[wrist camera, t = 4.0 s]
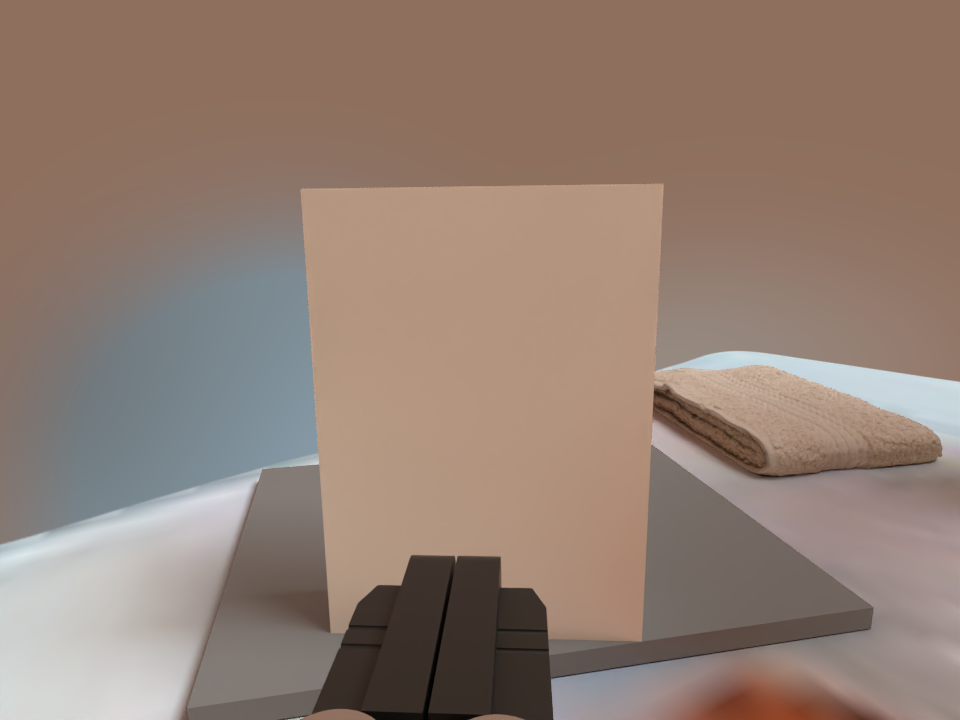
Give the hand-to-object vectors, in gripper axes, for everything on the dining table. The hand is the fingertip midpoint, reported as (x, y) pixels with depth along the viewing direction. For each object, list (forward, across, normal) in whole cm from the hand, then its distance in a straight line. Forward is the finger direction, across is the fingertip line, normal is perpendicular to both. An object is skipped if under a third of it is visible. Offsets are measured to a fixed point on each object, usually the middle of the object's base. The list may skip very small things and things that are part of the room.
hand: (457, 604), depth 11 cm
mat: (+17, 0, +8) cm, 19 cm away
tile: (+10, 0, +7) cm, 12 cm away
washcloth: (+34, -18, +9) cm, 39 cm away
